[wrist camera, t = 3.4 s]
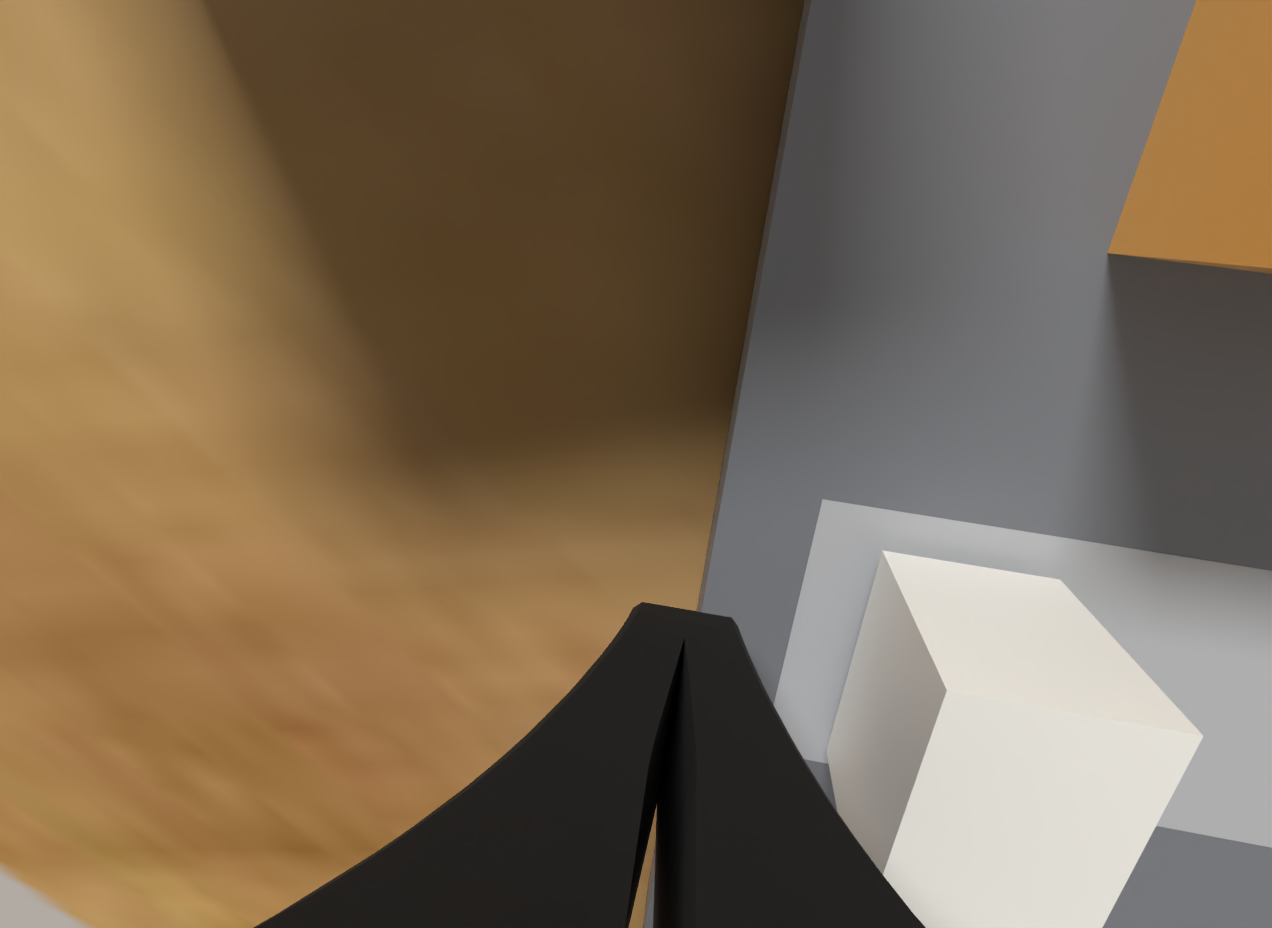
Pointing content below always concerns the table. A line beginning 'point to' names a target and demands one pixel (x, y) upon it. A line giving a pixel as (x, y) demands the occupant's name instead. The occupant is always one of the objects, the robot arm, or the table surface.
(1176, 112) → the block
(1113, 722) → the block
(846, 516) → the panel
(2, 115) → the table surface
